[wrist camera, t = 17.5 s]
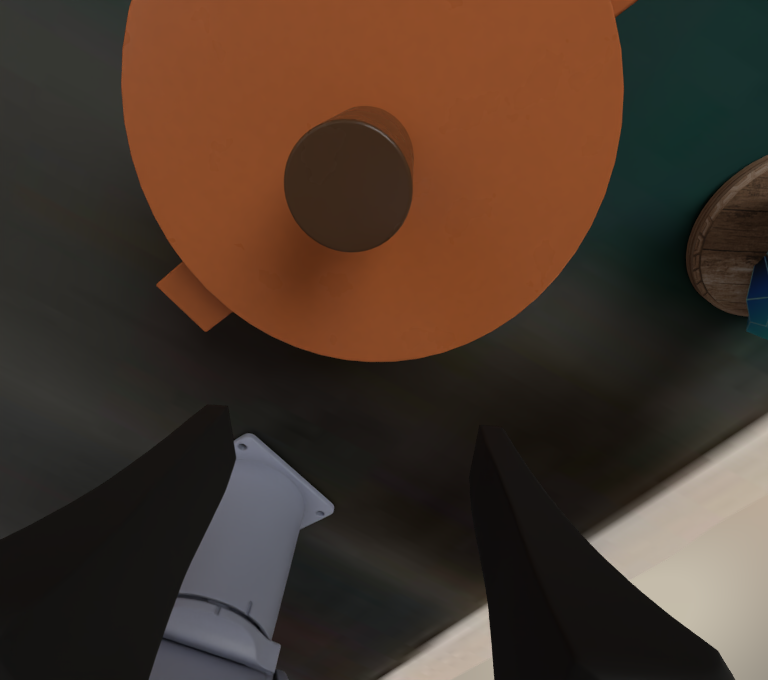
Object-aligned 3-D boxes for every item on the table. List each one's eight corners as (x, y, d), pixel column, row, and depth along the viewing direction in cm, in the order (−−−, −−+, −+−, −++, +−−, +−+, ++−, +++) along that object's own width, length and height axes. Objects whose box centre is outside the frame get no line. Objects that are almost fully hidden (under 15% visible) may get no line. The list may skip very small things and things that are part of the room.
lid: (683, 200, 14) (811, 261, 9) (342, 403, 18) (318, 507, 14) (428, -376, 9) (440, -835, 4) (49, 103, 13) (-131, 118, 9)
